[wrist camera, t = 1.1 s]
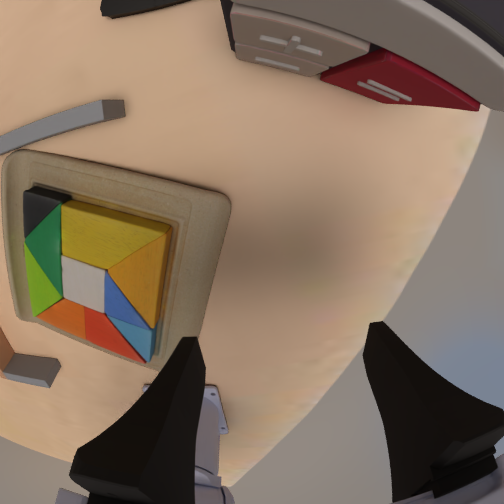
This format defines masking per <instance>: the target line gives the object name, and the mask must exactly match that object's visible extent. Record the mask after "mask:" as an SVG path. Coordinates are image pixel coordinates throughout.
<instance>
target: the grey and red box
mask: <svg viewBox="0 0 504 504" xmlns="http://www.w3.org/2000/svg"><path fill="white" fill-rule="evenodd" d="M220 1H221V5H222V10H223V14H224V19H225V23H226V28H227V32H228V37H229V41H230V46H231V49H232V50H233V51H235V52H236V57H237V59H239V60H243V61H248V62H253V63H258V64H262V65H266V66H270V67H275V68H279V69H282V70H286V71H290V72H294V73H297V74H301V75H304V76H308V77H312V76H314V75H316V74H318V73H321V78H320V80H321V81H324V82H327V83H330V84H333V85H336V86H339V87H342V88H345V89H347V90H350V91H353V92H356V93H358V94H361V95H364V96H366V97H369V98H371V99H374V100H376V101H379V102H381V103H385V104H405V105H420V106H433V107H443V108H452V109H461V110H468V111H479V108H480V104H483V105H484V106H486V107H488V108H490V109H493V110H497V111H503V112H504V0H220Z"/></svg>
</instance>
